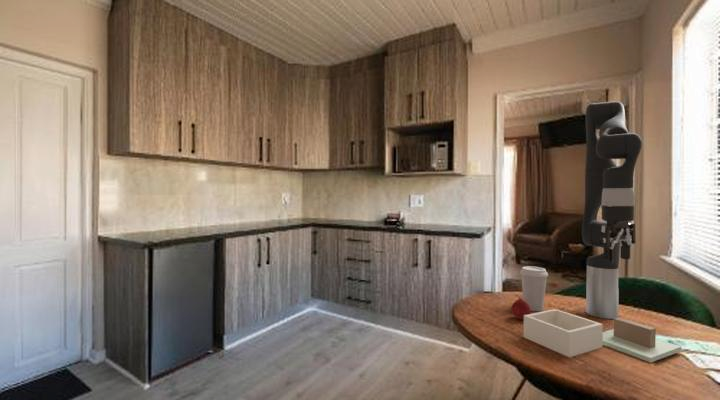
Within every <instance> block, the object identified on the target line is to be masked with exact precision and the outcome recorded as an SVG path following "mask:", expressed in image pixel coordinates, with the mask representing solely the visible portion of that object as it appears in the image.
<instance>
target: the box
mask: <svg viewBox="0 0 720 400" xmlns="http://www.w3.org/2000/svg"><path fill="white" fill-rule="evenodd" d="M603 327H604V324H603V323H600V322H597V321H595V320H591V319H588V318H585V317H581V316H579V315H575V314H572V313H569V312H567V311H566V312H565V311H564V310H560V309H556V308H554V309H549V310H542V311H537V312H533V313H530V314H528V315H524V320H523V338H525V339H527V340H529V341H532V342H533V343H536V344H538V345H541V346H543V347H545V348H548V349H550V350H551V351H554V352H556V353H559V354H561V355H563V356H565V357H568V358H572V357H577V356H578V355H582V354H586V353H589V352H591V351H596V350H598V349H602V348H603V345H602V344H603V332H604V331H603V330H604V329H603Z"/></svg>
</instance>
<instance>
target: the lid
mask: <svg viewBox="0 0 720 400" xmlns="http://www.w3.org/2000/svg"><path fill="white" fill-rule="evenodd" d="M656 329H657V328H656V327H653V326H649V325H645V324H644V323H643V324H642V323H639V322H636V321H633V320H630V319H626V318H622V317H619V316H618V317H617V318H614V319H613V328H612V329H609V330H605V331H603V344H602V346H605V347H608V348H610V349H613V350H616V351H619V352H620V353H624V354H627V355H629V356H632V357H634V358H637V359H640V360H642V361H645V362H648V363H653V362H656V361H658V360H659V361H660V360H662V359H664V358H667V357H669V356H672V355H675V354H677V353H680V352H682V346H681V345H677V344H675V343H671V342H668V341H664V340H662V339H658V338H656V335H657V333H656Z"/></svg>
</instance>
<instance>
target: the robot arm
mask: <svg viewBox="0 0 720 400" xmlns="http://www.w3.org/2000/svg"><path fill="white" fill-rule="evenodd" d="M585 109H586V110H585V141H586V144H585V145H586V146H585V147H586V150H585V151H586V155H585V168H584V171H585V172H584V207H583V208H584V209H583V218H582V225H581V237H582V238H581V239H582V242H583V243H584V244H585V246H590V247H596V248H603V253H600V254H597V255H590V256H588V257H587V259H586V290H585V291H586V296H585V297H586V299H585V300H586V301H585V303H586V305H585V312H586V314H587V315H590V316H592V317H596V318H600V319H607V320H608V319H609V320H614V318H618V317H619V299H620V298H619V297H620V295H619V293H620V292H619V291H620V290H619V261H620V259H622V260H630V259H631V247H632V246H633V244H634V245H636V224H635V223H630V222H634V220H635V193H634V173H635V169H636V164H637V161H638V158H639V155H640V153H641V150H642V148H643V140H642V138H641V136H640V135H639V134H638V133H634V132H629V131H628V129H627V126H626V112H625V107H624V104H623V103H622V102H620V101H607V102H606V101H604V102H603V101H602V102H596V103H595V102H593V103H590V104H588V105H587V107H586V108H585ZM597 130H599V131H598V132H597ZM598 135H599V136H598ZM615 160H624V161H623V163H622V164H620V165H618V166H617V163H616V161H615ZM600 208H601V220H597V219H598V214H599V210H600Z"/></svg>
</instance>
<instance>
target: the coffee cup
mask: <svg viewBox="0 0 720 400" xmlns="http://www.w3.org/2000/svg"><path fill="white" fill-rule="evenodd" d="M519 274H520V276H521V278H520V279H521V286H522V298H523V300H524V301H526V302H527V303H528V305H529V306H530V312H531V311H532V312H543V311H544V305H545V304H544V303H545V296H546V295H545V294H546V288H547V277H549V273H548V272H547V270H546V268H544V267H541V266H540V267H539V266H535V265H533V266H532V265H530V266H529V265H527V266H522V268H521V269H520V271H519Z"/></svg>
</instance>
